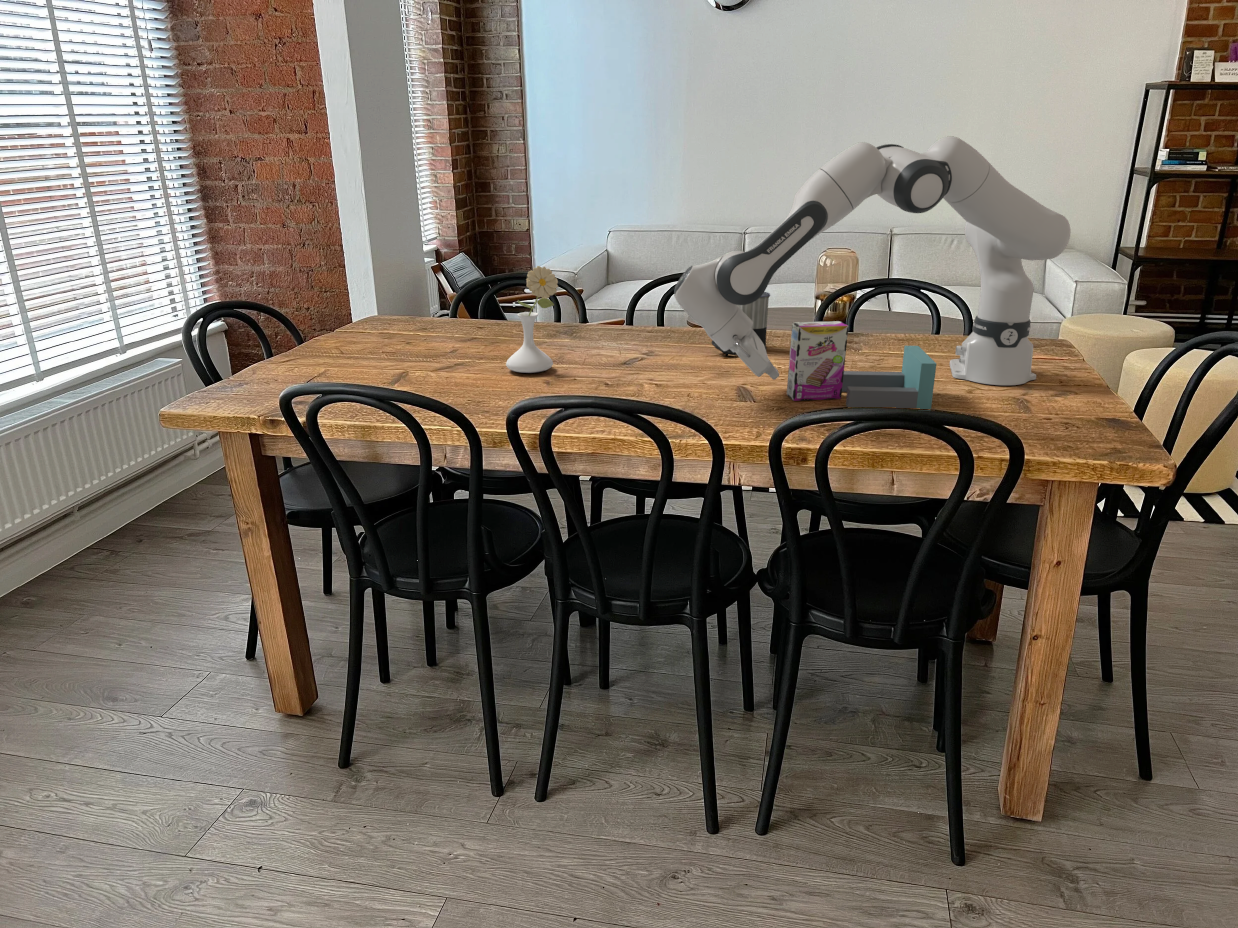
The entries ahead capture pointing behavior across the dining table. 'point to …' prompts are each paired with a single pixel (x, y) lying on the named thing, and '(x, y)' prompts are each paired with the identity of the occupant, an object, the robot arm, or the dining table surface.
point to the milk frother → (754, 319)
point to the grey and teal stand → (894, 384)
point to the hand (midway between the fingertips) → (776, 376)
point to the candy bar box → (817, 360)
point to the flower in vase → (529, 354)
